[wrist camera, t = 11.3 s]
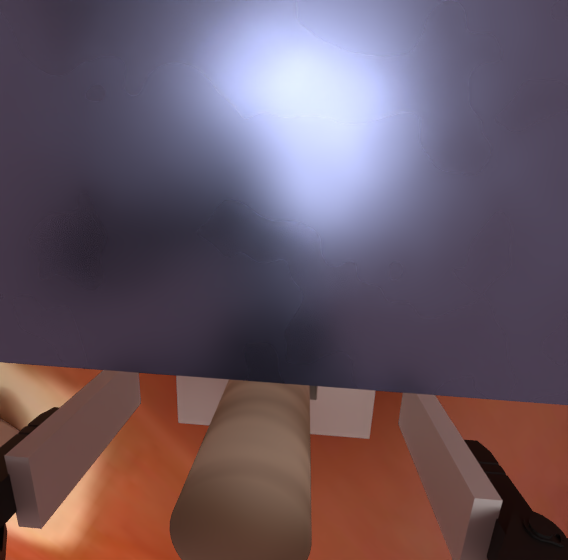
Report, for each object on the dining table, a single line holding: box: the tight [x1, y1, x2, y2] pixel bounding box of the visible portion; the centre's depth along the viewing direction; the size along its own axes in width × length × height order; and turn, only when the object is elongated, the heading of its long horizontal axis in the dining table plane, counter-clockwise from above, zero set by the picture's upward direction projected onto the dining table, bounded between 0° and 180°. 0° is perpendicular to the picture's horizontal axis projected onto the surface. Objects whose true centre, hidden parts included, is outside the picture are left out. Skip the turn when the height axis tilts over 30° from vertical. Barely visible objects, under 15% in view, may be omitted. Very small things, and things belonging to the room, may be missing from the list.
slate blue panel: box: [0, 0, 568, 405], centre depth 13 cm, size 14×10×16 cm
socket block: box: [176, 376, 375, 439], centre depth 21 cm, size 12×14×4 cm
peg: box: [170, 380, 311, 560], centre depth 16 cm, size 4×4×14 cm
